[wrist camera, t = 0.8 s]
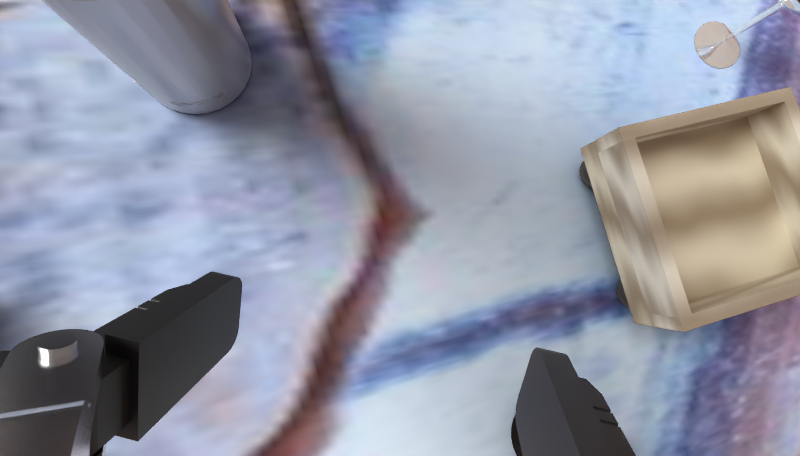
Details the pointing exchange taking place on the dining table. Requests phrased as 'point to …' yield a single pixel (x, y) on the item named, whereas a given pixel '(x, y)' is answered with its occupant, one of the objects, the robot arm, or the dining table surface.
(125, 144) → the dining table surface
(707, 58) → the wineglass
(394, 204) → the dining table surface
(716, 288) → the cart
